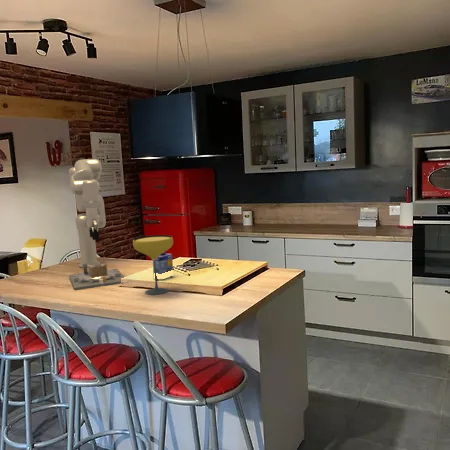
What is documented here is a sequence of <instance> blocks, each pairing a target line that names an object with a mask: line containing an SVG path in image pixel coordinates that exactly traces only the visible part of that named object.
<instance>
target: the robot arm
mask: <svg viewBox="0 0 450 450" xmlns="http://www.w3.org/2000/svg"><path fill="white" fill-rule="evenodd" d="M102 167H103V166H102V163H101V161H100V160H99V159H97V158H87V159H84V158H83V159H79V160H76V161H75V163H74V166H73V167H71V168H69V169H68V176H69V185H70V191H71V193H72V194H73V195H74V196H75V205H76V209H77V210H78V212H85V213H79V214H78V215H76V216H75V219H74V221H75V225H76V230H77V235H78V245H79V256H80V263H79V264H78V267H79V268H83V264H87V268H88V267H89V266H95V265H101V262H100V261H99V260H98V255H97V254H98V253H97V246H96V240H100V233H99V229H102V228H105V226H106V223H107V221H106V219H107V218H106V211H105V201H104V198H103V196H102V195H101V194H99V191H100V189H101V185H100V183H99V181H98V180H99V179H100V178H101V175H102V171H103V168H102Z"/></svg>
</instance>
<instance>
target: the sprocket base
mask: <svg viewBox="0 0 450 450" xmlns="http://www.w3.org/2000/svg"><path fill="white" fill-rule="evenodd" d="M113 269H114V271H116V270H119V269H118V268H113ZM74 275H79V273H74V274H68V278H69V281H70V284H72V288H73V290H74V291H79V290H86V289H87V290H88V289H92V288H93V289H94V288H101V287H107V286H113V285H114V286H115V285H121V284H122V283H121V278H124V277H126V276H125V275H124V274H123V273H122V272H121V271H120V276H116V278H115V279H107V280H106V281H103V279H99V281H94V282H93V283H89V282H82V283H80V282H79V281H74V280H73V278H74ZM120 283H121V284H120Z"/></svg>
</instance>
